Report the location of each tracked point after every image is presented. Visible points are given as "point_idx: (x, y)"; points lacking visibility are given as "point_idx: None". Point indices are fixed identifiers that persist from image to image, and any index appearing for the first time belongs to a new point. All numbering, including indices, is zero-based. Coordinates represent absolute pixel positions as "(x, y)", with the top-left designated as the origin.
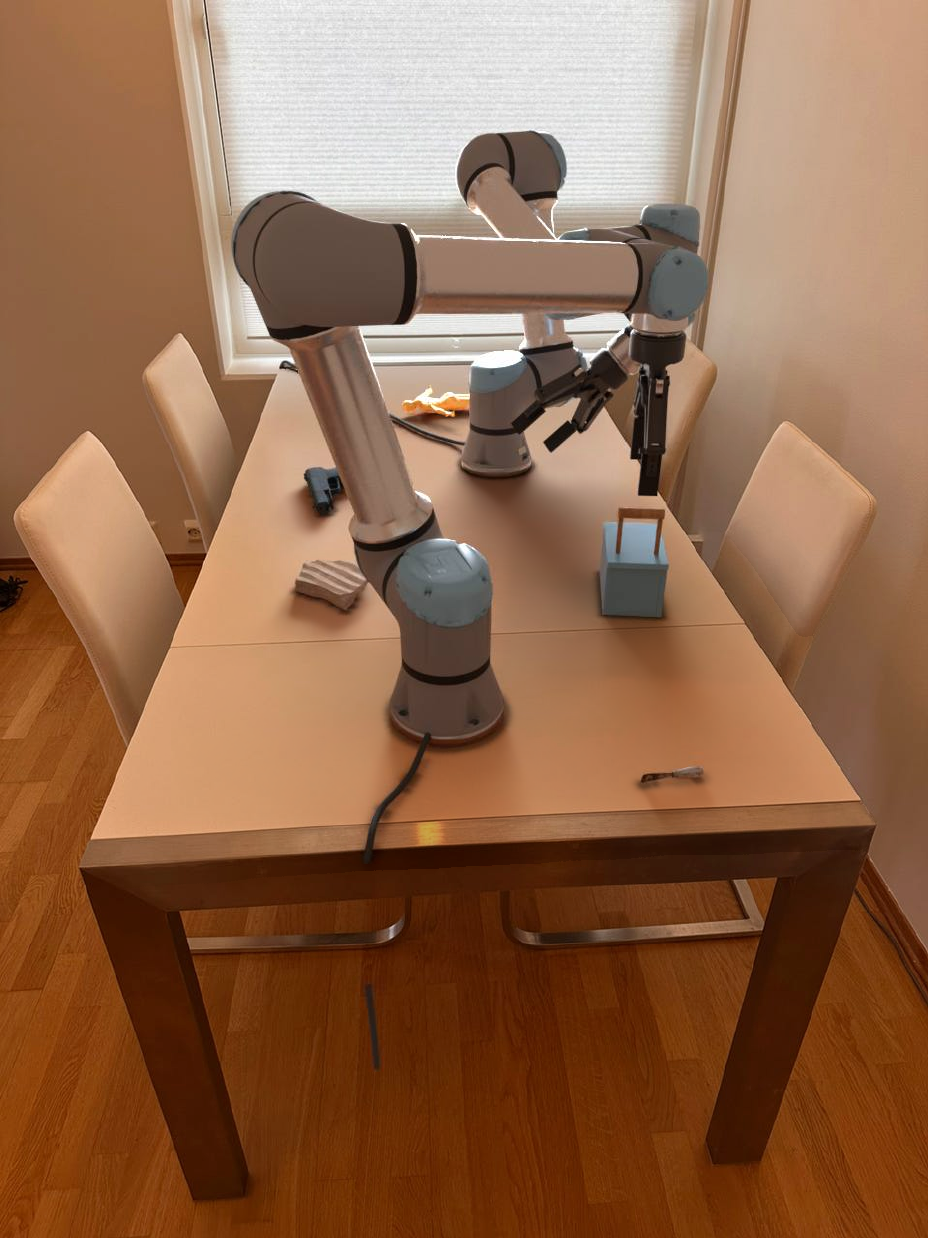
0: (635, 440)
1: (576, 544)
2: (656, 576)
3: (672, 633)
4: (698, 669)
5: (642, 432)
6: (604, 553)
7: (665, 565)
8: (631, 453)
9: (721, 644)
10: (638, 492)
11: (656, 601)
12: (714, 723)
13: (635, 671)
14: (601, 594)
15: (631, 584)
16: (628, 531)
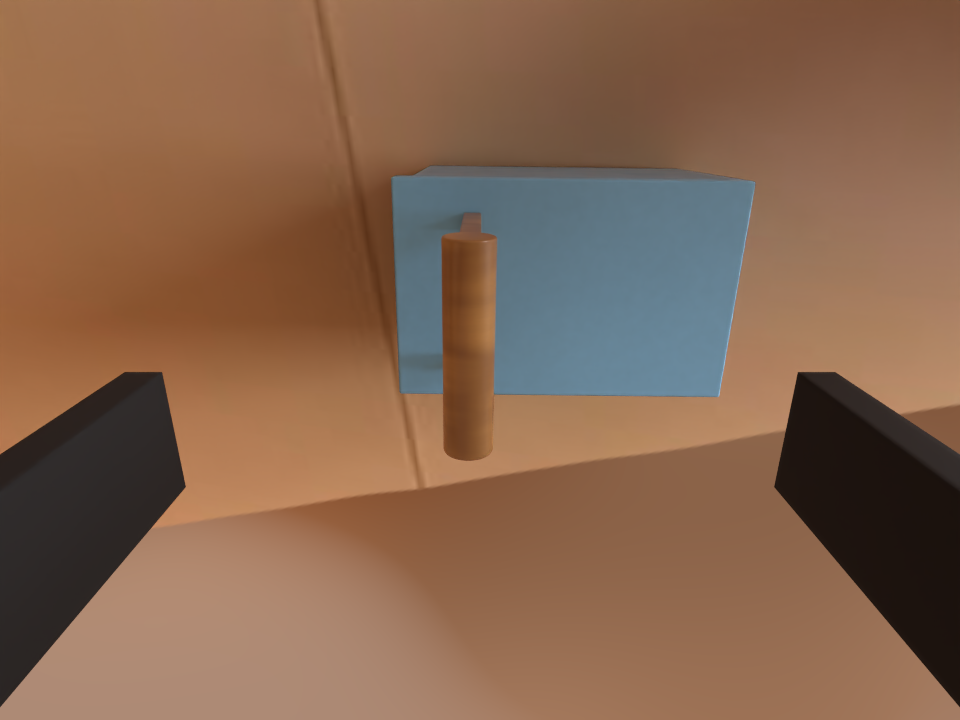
0: (892, 474)
1: (890, 96)
2: None
3: (358, 346)
4: (210, 385)
5: (934, 580)
6: (574, 175)
7: (399, 382)
8: (822, 395)
9: (327, 447)
10: (111, 382)
11: None
12: (13, 390)
13: (164, 238)
14: (531, 167)
15: None
16: (657, 277)
